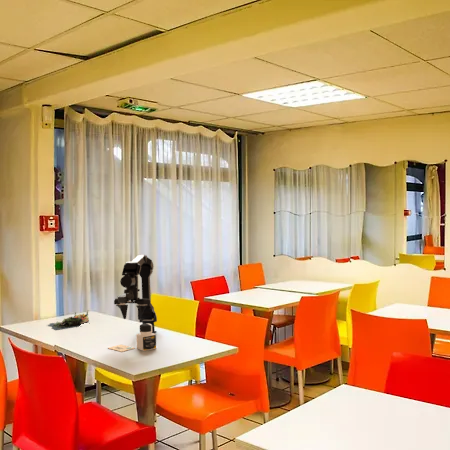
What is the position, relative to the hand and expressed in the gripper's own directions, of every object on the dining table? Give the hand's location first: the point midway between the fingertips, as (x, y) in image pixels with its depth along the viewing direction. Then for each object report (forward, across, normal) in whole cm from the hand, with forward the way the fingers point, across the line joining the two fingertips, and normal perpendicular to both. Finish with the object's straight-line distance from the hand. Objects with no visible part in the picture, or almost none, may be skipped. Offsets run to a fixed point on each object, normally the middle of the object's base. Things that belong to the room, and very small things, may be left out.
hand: (131, 319), depth 255 cm
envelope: (+14, -5, -2) cm, 15 cm away
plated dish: (+8, -72, +30) cm, 78 cm away
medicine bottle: (+14, +6, +4) cm, 16 cm away
